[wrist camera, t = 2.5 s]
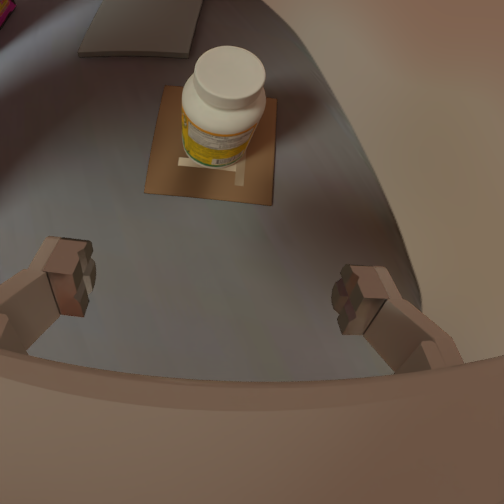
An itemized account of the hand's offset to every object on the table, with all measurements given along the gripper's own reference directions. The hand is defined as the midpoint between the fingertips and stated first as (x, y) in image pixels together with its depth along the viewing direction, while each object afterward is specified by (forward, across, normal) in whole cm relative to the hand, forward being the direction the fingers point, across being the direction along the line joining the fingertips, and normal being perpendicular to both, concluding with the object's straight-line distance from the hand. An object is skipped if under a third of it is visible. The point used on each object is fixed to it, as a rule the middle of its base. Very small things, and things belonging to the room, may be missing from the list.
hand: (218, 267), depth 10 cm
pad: (+28, +9, -7) cm, 30 cm away
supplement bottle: (+18, 0, +2) cm, 18 cm away
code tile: (+18, 0, +2) cm, 18 cm away
